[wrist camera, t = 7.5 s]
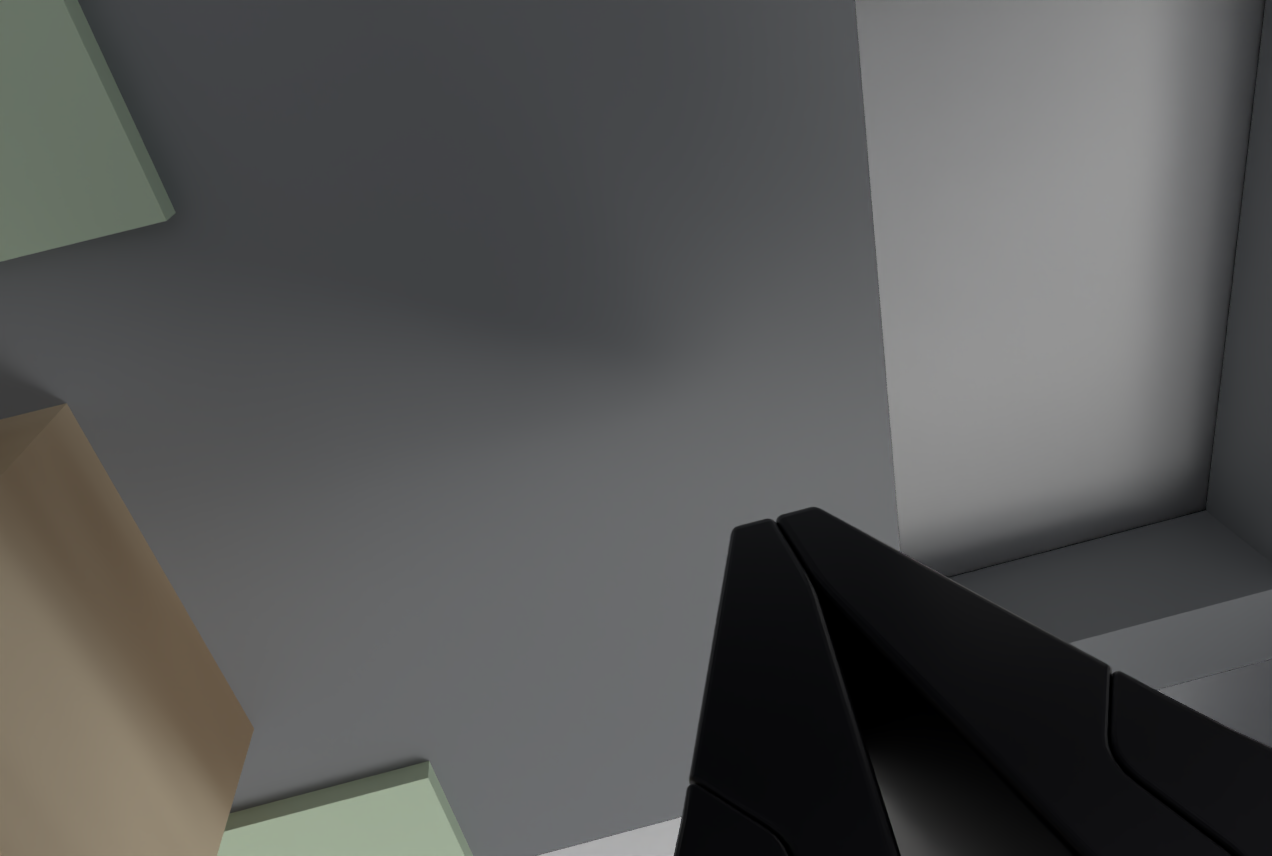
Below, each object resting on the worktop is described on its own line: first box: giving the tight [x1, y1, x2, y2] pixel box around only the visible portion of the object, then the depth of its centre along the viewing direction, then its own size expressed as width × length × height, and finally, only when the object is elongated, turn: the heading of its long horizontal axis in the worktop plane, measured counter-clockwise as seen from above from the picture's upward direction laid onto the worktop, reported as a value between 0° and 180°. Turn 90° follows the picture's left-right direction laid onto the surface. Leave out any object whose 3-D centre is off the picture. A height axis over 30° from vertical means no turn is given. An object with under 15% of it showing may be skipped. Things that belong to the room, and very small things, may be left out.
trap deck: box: [0, 0, 1272, 856], centre depth 12 cm, size 28×13×2 cm, turn 102°
